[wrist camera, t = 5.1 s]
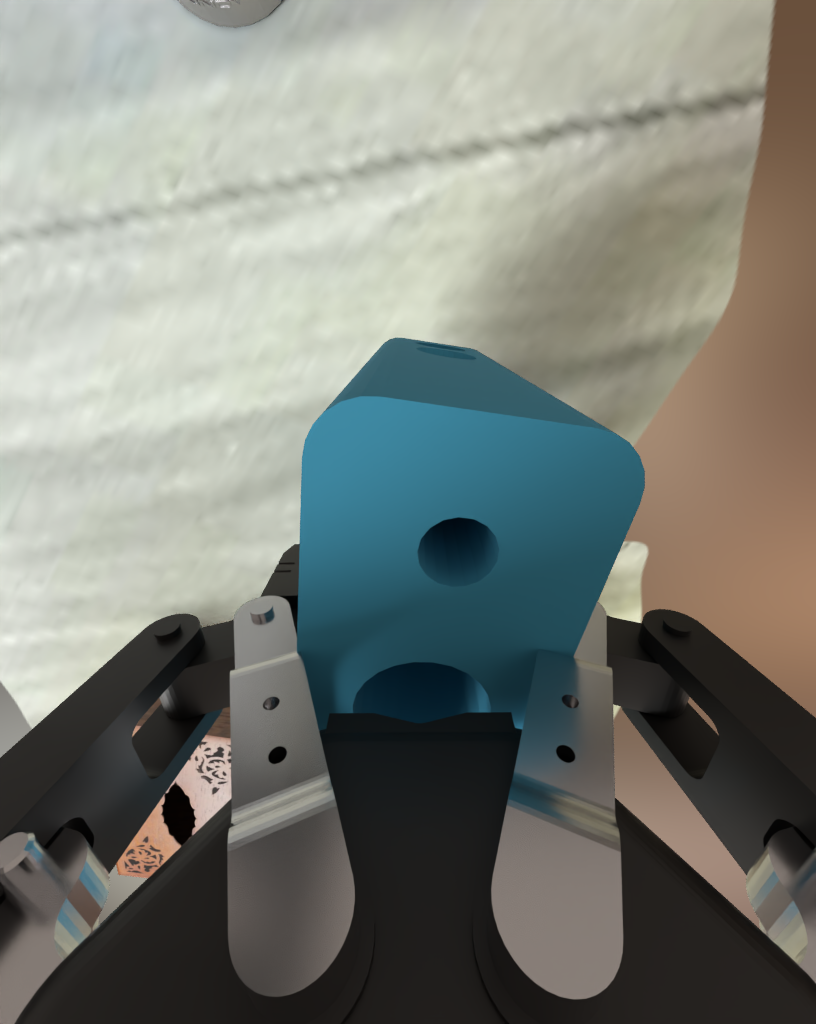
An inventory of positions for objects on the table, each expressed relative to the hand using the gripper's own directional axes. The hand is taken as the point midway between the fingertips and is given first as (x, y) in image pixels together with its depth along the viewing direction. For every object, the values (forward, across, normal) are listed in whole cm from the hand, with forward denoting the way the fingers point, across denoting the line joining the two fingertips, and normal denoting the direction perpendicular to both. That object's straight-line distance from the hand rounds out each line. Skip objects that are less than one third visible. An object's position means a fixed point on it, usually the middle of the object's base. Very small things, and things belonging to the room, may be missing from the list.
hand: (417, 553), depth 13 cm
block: (+14, 0, 0) cm, 14 cm away
